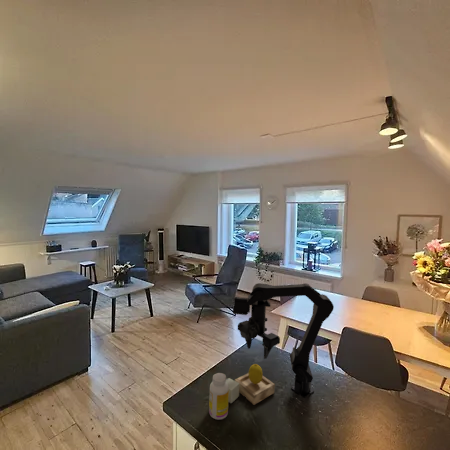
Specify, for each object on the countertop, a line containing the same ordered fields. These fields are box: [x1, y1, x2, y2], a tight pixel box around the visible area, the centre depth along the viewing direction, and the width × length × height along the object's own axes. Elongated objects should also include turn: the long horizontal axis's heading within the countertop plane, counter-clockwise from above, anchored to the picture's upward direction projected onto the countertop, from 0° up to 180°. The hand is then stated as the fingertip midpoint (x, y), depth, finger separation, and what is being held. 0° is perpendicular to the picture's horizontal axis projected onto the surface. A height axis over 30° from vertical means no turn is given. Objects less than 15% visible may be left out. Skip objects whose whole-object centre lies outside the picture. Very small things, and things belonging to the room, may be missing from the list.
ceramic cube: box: [226, 377, 240, 404], centre depth 96 cm, size 5×5×5 cm
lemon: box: [248, 363, 264, 384], centre depth 100 cm, size 6×6×8 cm
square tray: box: [234, 372, 276, 406], centre depth 100 cm, size 11×11×4 cm
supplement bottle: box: [208, 372, 229, 420], centre depth 88 cm, size 7×7×13 cm
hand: (256, 353), depth 103 cm, fingers open, 9 cm apart
